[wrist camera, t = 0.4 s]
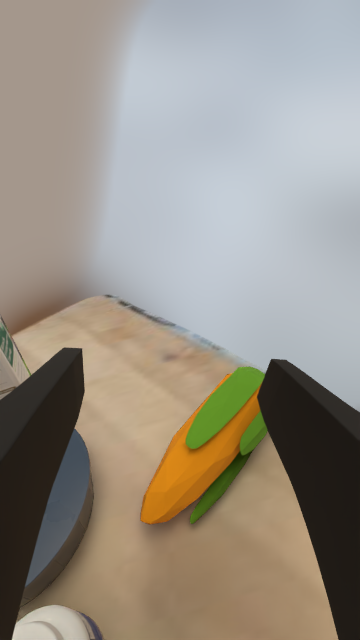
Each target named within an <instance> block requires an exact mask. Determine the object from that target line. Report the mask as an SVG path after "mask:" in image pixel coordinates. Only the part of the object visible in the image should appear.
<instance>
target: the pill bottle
mask: <svg viewBox="0 0 360 640" xmlns="http://www.w3.org/2000/svg"><path fill="white" fill-rule="evenodd" d="M12 640H104V639H103V636H102V633H101V631H100V629H99V627H98V626H97V624H96V623H95V622H94V621H93V620H92V619H91V618H90V617H88V616H86V615H85V614H83V613H80V612H78V611H75V610H73V609H70V608H68V607H64V606H61V605H49V606H44V607H41V608H38V609H36V610H34V611H32V612H30V613H29V614H27V615H26V616H24V617H23V618H21V619H20V620H19V621H18V622H17V623H16V624H15V628H14V632H13V637H12Z"/></svg>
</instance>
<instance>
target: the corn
mask: <svg viewBox="0 0 360 640" xmlns="http://www.w3.org/2000/svg"><path fill="white" fill-rule="evenodd" d="M264 377H265V374H263V373H262V372H261V371H259V370H258V369H255V368H252V367H239V368H238V369H237V370H236V371H235V372H234V373H231V374H227V375H226V376H225V378H224V379H223V380H222V381H221V382H220V383H219V385H218V386H217V387H216V388H215V389H214V390H213V391H212V393H211V394H210V395H209V396H208V397H207V398H206V400H205V401H204V402H203V403H202V404H201V405H200V406H199V408H198V409H197V410H196V411H195V412H194V413H193V415H192V416H191V417H190V418H189V419H188V420H187V422H186V423H185V424H184V425H183V426H182V427H181V428H180V430H179V431H178V432H177V433H176V434H175V435H174V437H173V439H172V441H171V443H170V445H169V447H168V449H167V451H166V453H165V455H164V457H163V459H162V461H161V463H160V465H159V467H158V469H157V471H156V473H155V475H154V477H153V479H152V481H151V483H150V485H149V487H148V489H147V491H146V493H145V495H144V498H143V503H142V509H141V521H142V522H145V523H147V524H155V523H161V522H167V521H169V520H170V519H171V518H173V517H174V516H175V515H177V514H178V513H179V512H180V511H182V510H183V509H184V508H186V507H187V506H188V505H190V504H191V503H192V502H194V501H195V500H196V499H198V498H199V497H200V496H201V495H202V494H203V492H204V491H205V490H206V489H207V488H208V487H209V488H208V490H207V491H206V493H205V494H204V495H203V497H202V498H201V500H200V501H199V503H198V504H197V506H196V507H195V509H194V511H193V512H192V514H191V517H190V523H191V524H193V523H195V522H196V521H197V520H198V519H199V518H200V517H201V516H202V515H203V514H204V513H205V512H206V511H207V510H208V509H209V508H210V507H211V506H212V505H213V504H214V503H215V502H216V501H217V500H218V499H219V498H220V497H221V496H222V495H223V494H224V492H225V491H226V490H227V488H228V487H229V485H230V484H231V483H232V481H233V480H234V479H235V477H236V476H237V474H238V473H239V472H240V470H241V469H242V467H243V466H244V465H245V463H246V461H247V459H248V458H249V456H250V454H251V453H252V451H253V449H254V448H255V447H256V446H257V445H258V443H259V442H260V441H261V440H262V439H263V438H264V436H265V435H266V433H267V431H268V429H267V427H266V425H265V422H264V420H263V417H262V413H261V410H260V407H259V403H258V399H257V395H258V392H259V389H260V387H261V384H262V382H263V379H264Z"/></svg>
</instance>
